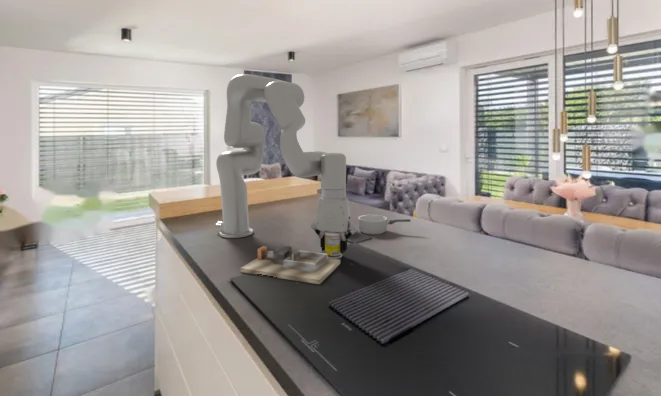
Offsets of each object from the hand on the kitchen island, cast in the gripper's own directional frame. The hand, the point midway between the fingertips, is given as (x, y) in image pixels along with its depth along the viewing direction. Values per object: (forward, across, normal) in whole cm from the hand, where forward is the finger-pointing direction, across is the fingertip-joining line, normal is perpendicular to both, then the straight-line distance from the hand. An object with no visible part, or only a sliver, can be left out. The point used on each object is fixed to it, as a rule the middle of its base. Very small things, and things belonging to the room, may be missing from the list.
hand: (333, 250), depth 115 cm
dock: (+2, -8, -13) cm, 15 cm away
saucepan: (+2, +8, +33) cm, 34 cm away
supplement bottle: (+2, 0, 0) cm, 2 cm away
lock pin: (+1, -15, -12) cm, 19 cm away
